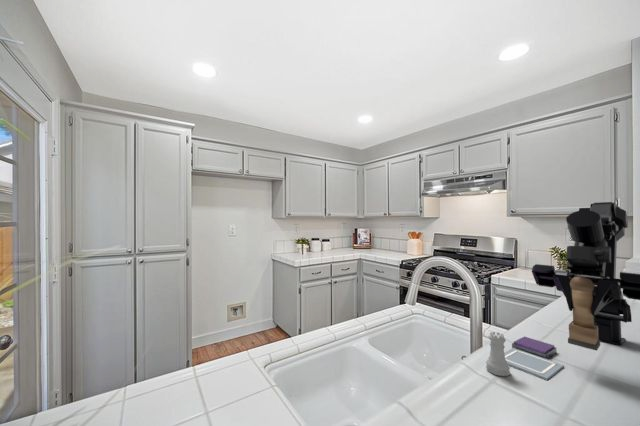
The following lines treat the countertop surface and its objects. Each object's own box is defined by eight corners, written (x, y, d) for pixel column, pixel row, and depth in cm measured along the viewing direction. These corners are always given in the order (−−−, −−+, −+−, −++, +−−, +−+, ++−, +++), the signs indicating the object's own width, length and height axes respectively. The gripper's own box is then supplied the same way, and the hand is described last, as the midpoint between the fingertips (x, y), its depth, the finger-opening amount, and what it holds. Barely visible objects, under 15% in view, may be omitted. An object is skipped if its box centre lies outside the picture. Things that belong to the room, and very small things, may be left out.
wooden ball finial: (572, 338, 61) (570, 273, 62) (600, 345, 57) (597, 276, 58) (568, 343, 58) (565, 275, 59) (596, 350, 55) (593, 279, 55)
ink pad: (523, 342, 73) (523, 335, 73) (556, 352, 67) (556, 345, 68) (512, 348, 70) (511, 341, 70) (545, 359, 64) (545, 352, 64)
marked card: (513, 349, 69) (513, 347, 69) (564, 366, 60) (564, 364, 60) (494, 359, 64) (494, 357, 64) (546, 380, 55) (546, 377, 55)
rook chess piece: (514, 378, 56) (513, 339, 56) (490, 375, 57) (489, 337, 57) (504, 367, 60) (503, 331, 60) (482, 365, 61) (481, 329, 61)
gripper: (532, 232, 69) (519, 280, 62) (647, 234, 54) (647, 298, 47) (542, 260, 73) (531, 309, 66) (651, 270, 58) (651, 334, 51)
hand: (581, 311), depth 57 cm, fingers closed on wooden ball finial, 3 cm apart
